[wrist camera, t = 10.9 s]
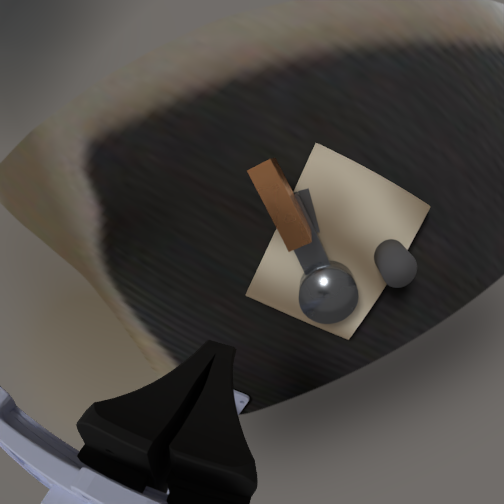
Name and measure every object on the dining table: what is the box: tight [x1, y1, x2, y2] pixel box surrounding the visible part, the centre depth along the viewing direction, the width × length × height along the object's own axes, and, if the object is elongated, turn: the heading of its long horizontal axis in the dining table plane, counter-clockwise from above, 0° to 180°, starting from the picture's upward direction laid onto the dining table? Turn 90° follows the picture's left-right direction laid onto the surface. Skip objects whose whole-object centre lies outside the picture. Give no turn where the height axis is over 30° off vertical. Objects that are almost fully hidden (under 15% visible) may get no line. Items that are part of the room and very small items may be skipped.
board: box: [246, 143, 431, 340], centre depth 20 cm, size 12×9×1 cm
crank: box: [247, 158, 358, 324], centre depth 18 cm, size 12×4×3 cm, turn 28°
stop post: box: [374, 239, 417, 288], centre depth 17 cm, size 2×2×3 cm
